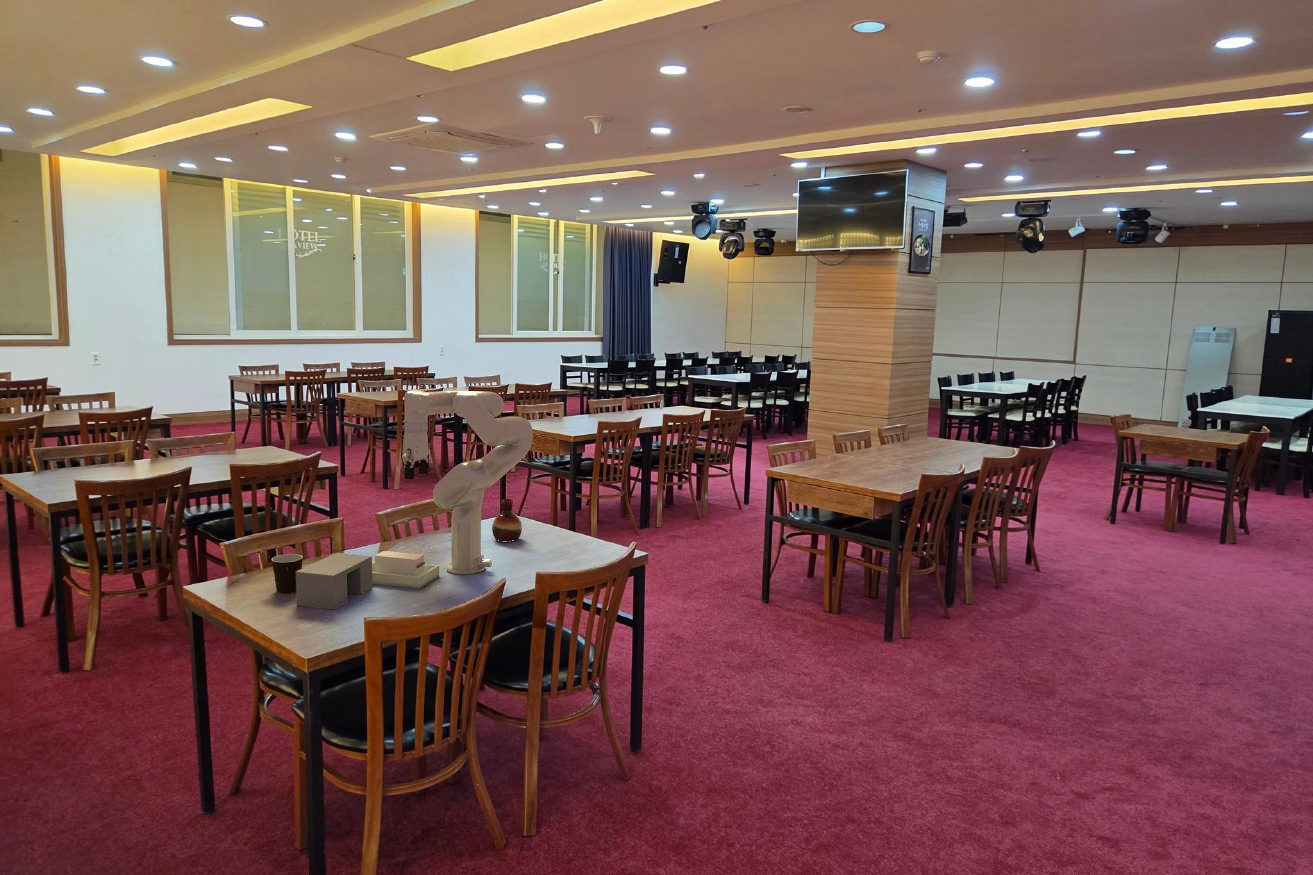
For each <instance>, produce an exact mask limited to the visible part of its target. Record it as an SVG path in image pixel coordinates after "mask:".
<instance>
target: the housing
mask: <svg viewBox="0 0 1313 875" xmlns="http://www.w3.org/2000/svg"><path fill="white" fill-rule="evenodd" d="M372 562H373V556H372V555H363V554H354V553H345V552H335V553H333V554H330V555H328V556H327V557H324V558H322V559H320V560H318V561H316V562H314V563H311V564H309V565H307V566H305V567H302V569H300V570H298V571H296V592H295V593H296V606H299V607H300V606H301V607H308V608H309V607H310V608H317V609H326V610H333V609H335V610H336V609H338V608H340V607H341V605H342V604H343V605H345V604H347V603H348V594H352V593H354V595H362V594H364V593H366V592H367V591H369V590H371V589H372V588H373V584H372ZM370 588H371V589H370ZM363 592H364V593H363ZM346 602H347V603H346ZM344 603H345V604H344ZM343 605H342V606H343ZM339 606H340V607H339Z"/></svg>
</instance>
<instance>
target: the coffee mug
mask: <svg viewBox="0 0 1313 875" xmlns="http://www.w3.org/2000/svg"><path fill="white" fill-rule="evenodd" d="M303 559H304V557H303V555H301V554H296V553H286V554H279V555H275V556H274V557H272V558H271V564H272V565H271V566H272V570H273V571H272V572H273V577H274V583H275V588H276V592H277V593H278V594H280V595H281V594H282V595H283V594H285V595H287V594H294V593H296V571H298V570H300V569H302V568H303Z"/></svg>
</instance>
